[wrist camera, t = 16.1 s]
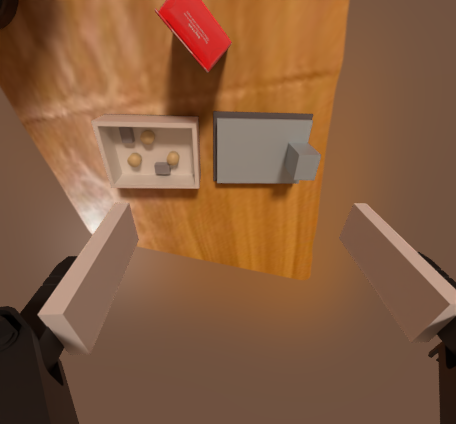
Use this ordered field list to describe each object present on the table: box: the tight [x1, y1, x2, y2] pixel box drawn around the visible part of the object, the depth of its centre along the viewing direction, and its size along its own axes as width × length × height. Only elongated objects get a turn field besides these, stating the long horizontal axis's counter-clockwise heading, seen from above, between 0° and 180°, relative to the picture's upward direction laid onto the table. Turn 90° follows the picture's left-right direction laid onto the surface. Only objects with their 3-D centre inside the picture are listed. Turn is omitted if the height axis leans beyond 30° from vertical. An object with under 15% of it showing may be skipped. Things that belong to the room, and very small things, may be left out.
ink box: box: [155, 0, 232, 72], centre depth 31 cm, size 8×5×15 cm, turn 44°
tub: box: [91, 114, 201, 189], centre depth 45 cm, size 18×13×6 cm
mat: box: [213, 111, 313, 181], centre depth 48 cm, size 20×15×1 cm
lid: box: [217, 118, 321, 183], centre depth 45 cm, size 19×14×9 cm
